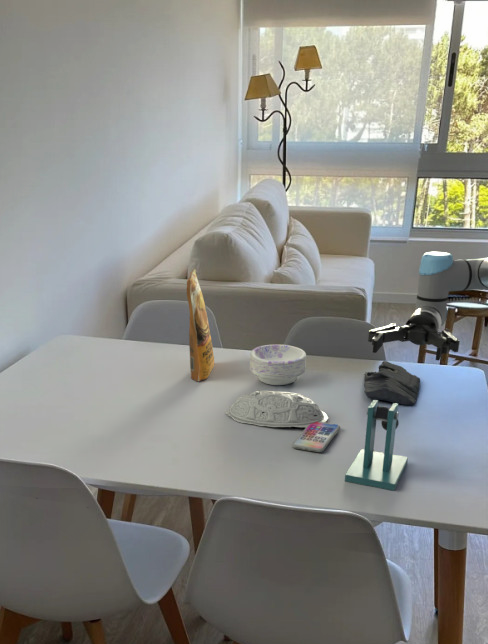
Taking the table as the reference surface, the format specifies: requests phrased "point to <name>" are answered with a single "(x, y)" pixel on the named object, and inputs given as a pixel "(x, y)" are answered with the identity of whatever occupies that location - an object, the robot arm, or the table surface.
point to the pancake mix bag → (199, 332)
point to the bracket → (378, 455)
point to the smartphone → (316, 436)
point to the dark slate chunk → (392, 384)
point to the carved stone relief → (276, 409)
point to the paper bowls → (277, 363)
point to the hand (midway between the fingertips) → (405, 350)
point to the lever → (383, 416)
